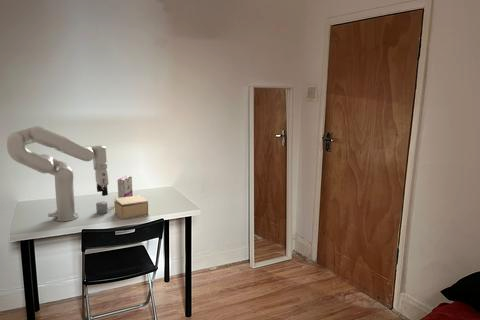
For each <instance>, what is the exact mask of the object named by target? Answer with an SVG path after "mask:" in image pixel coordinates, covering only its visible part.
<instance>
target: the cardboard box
mask: <svg viewBox="0 0 480 320" xmlns="http://www.w3.org/2000/svg"><path fill="white" fill-rule="evenodd" d="M114 214H115V215H116V216H118V217H119V218H120V219H121V220H122V221H123V220H129V219H133V218H139V217H144V216H148V215H149V201H148V202H145V203H138V204H130V205H123V206H122V205H121V204H119V203H118V202H117V201H115V200H114ZM138 216H139V217H138Z"/></svg>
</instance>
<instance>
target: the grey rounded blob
mask: <svg viewBox="0 0 480 320" xmlns="http://www.w3.org/2000/svg"><path fill="white" fill-rule="evenodd" d="M95 205H96V214H97V215H106V214H108V211H109V210H108V202H107V201H97V202H96V204H95Z"/></svg>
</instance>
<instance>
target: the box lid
mask: <svg viewBox="0 0 480 320" xmlns="http://www.w3.org/2000/svg"><path fill="white" fill-rule="evenodd" d="M115 201H117V202H118V203H119V204H121V205H122V206H123V205H130V204H138V203H145V202H148V203H149V200H148V199H146V198H145V197H143V196H142V195H140V194H139V195H133V196H130V197H122V198H118V197H116V198H115V197H114V202H115Z"/></svg>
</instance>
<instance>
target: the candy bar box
mask: <svg viewBox="0 0 480 320" xmlns="http://www.w3.org/2000/svg"><path fill="white" fill-rule="evenodd" d="M116 182H117V195H118V196H117V198H122V197H130V196H134V195H133V177H132V175H125V176H122V177H120V178H118V179H117V181H116Z"/></svg>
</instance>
